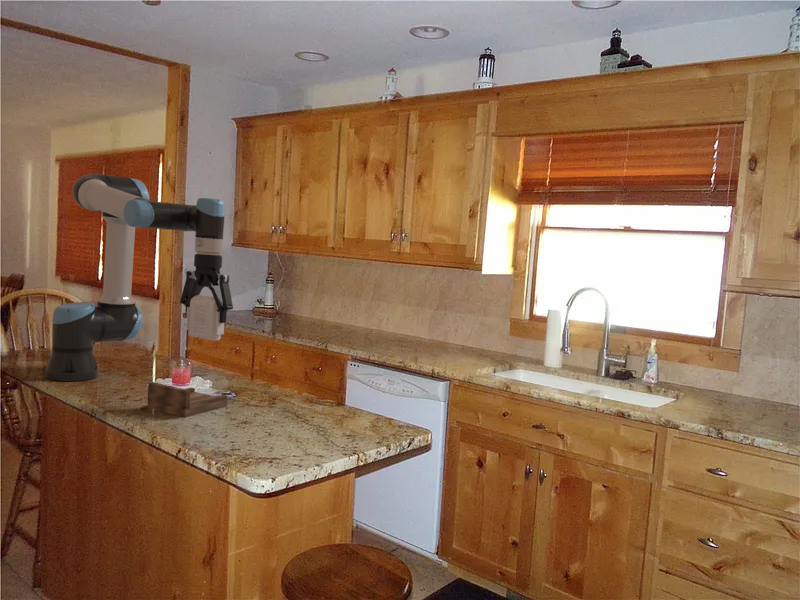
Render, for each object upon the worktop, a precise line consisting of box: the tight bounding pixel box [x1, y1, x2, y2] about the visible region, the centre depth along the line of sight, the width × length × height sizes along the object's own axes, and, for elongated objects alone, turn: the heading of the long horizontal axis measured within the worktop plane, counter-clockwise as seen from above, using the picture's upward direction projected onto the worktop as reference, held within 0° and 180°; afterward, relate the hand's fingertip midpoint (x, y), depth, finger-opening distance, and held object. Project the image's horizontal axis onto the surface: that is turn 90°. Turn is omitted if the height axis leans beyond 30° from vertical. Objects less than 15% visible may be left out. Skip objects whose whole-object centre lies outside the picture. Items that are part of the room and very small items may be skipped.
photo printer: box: [187, 294, 222, 342], centre depth 184 cm, size 10×4×12 cm, turn 61°
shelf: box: [146, 381, 228, 418], centre depth 181 cm, size 14×16×7 cm
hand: (204, 331), depth 184 cm, fingers closed on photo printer, 10 cm apart
